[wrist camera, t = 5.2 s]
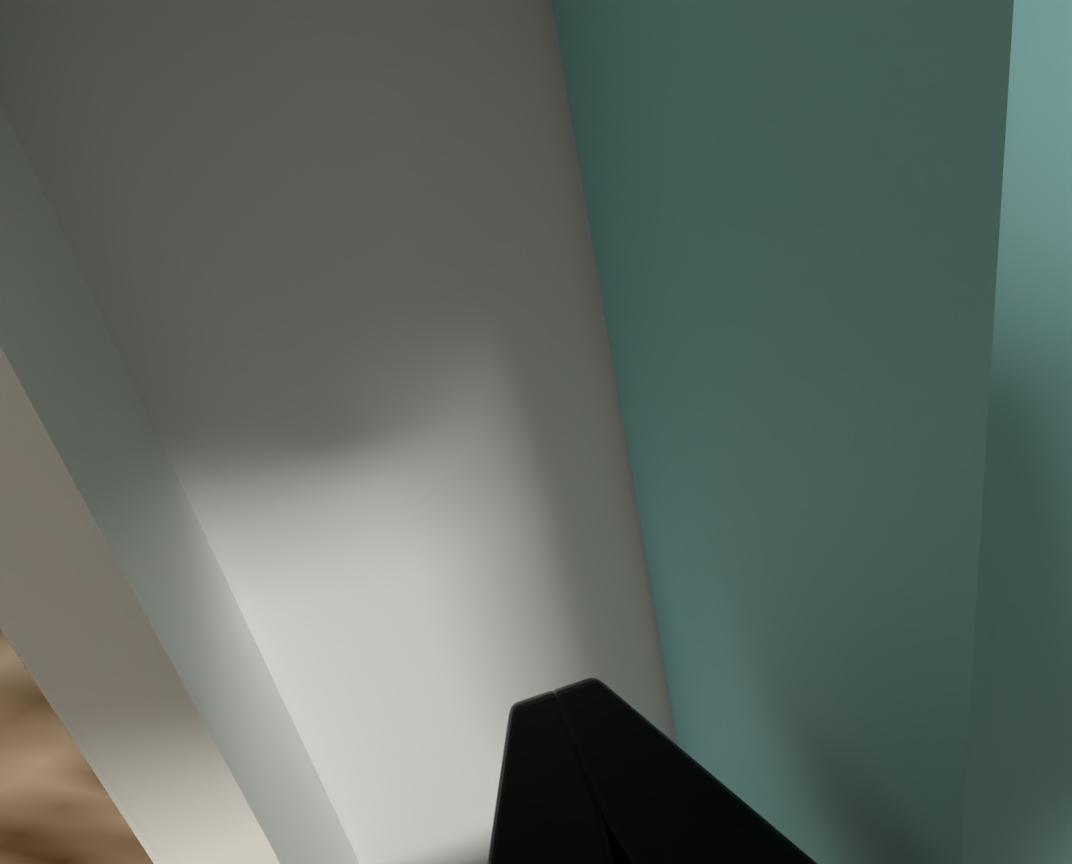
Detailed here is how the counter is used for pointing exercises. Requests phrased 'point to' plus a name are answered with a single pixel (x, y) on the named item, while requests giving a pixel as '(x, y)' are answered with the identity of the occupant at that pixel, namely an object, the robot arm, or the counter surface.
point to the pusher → (848, 400)
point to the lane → (306, 415)
